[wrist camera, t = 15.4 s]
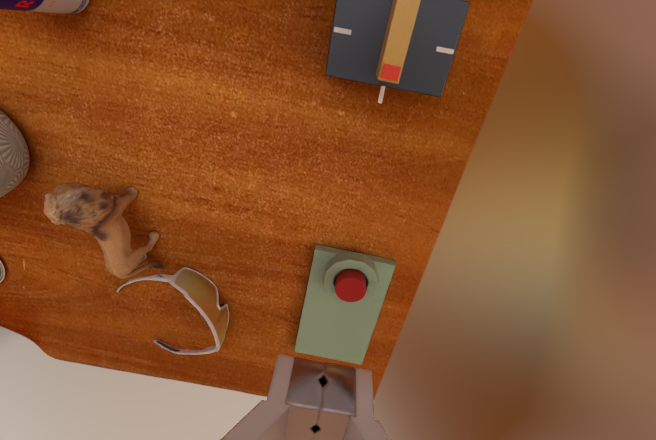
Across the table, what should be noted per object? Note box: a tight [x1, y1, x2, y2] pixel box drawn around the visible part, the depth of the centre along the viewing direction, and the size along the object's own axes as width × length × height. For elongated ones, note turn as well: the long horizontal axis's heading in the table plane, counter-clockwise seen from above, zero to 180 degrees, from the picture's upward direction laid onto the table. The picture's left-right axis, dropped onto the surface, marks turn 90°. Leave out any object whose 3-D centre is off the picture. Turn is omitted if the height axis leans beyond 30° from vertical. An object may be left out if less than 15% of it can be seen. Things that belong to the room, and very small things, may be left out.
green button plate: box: [294, 244, 396, 365], centre depth 46 cm, size 19×10×3 cm, turn 169°
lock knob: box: [376, 0, 421, 84], centre depth 26 cm, size 6×2×4 cm, turn 169°
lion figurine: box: [43, 183, 163, 279], centre depth 40 cm, size 15×5×9 cm, turn 19°
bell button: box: [335, 269, 366, 302], centre depth 42 cm, size 4×4×2 cm
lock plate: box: [325, 0, 470, 104], centre depth 30 cm, size 10×10×5 cm
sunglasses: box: [116, 267, 229, 355], centre depth 48 cm, size 14×15×5 cm
